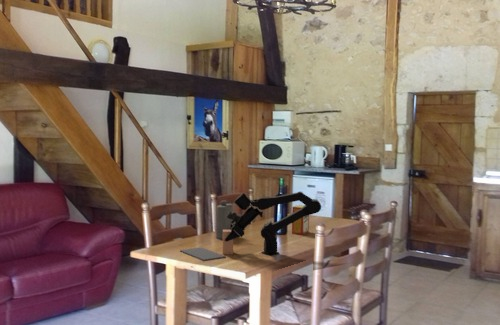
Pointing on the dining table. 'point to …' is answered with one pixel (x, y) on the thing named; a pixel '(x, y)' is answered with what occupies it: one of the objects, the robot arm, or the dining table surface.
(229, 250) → the terracotta block
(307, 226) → the baking soda box
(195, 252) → the charcoal mat
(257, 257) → the dining table surface
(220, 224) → the flask
